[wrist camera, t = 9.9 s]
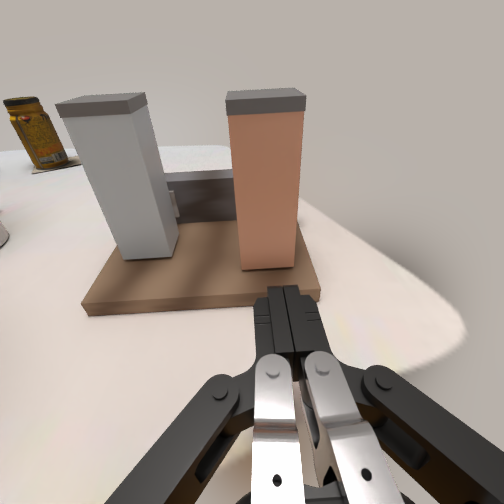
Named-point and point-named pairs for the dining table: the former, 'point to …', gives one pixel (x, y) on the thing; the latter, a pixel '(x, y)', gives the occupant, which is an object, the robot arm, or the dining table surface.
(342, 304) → the dining table surface
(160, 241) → the grey tall block
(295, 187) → the orange-brown tall block
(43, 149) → the condiment
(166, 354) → the dining table surface
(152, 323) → the dining table surface
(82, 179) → the dining table surface
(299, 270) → the base
